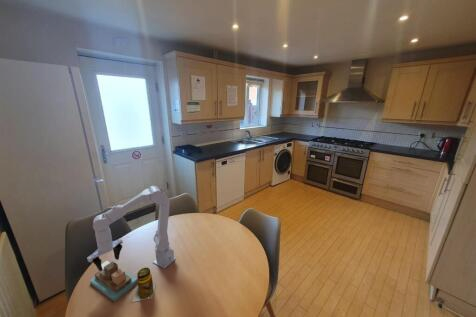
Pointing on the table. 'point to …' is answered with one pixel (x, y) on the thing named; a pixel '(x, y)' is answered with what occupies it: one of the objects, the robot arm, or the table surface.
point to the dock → (110, 292)
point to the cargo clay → (118, 276)
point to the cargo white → (103, 267)
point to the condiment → (144, 285)
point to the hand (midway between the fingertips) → (109, 264)
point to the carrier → (107, 278)
